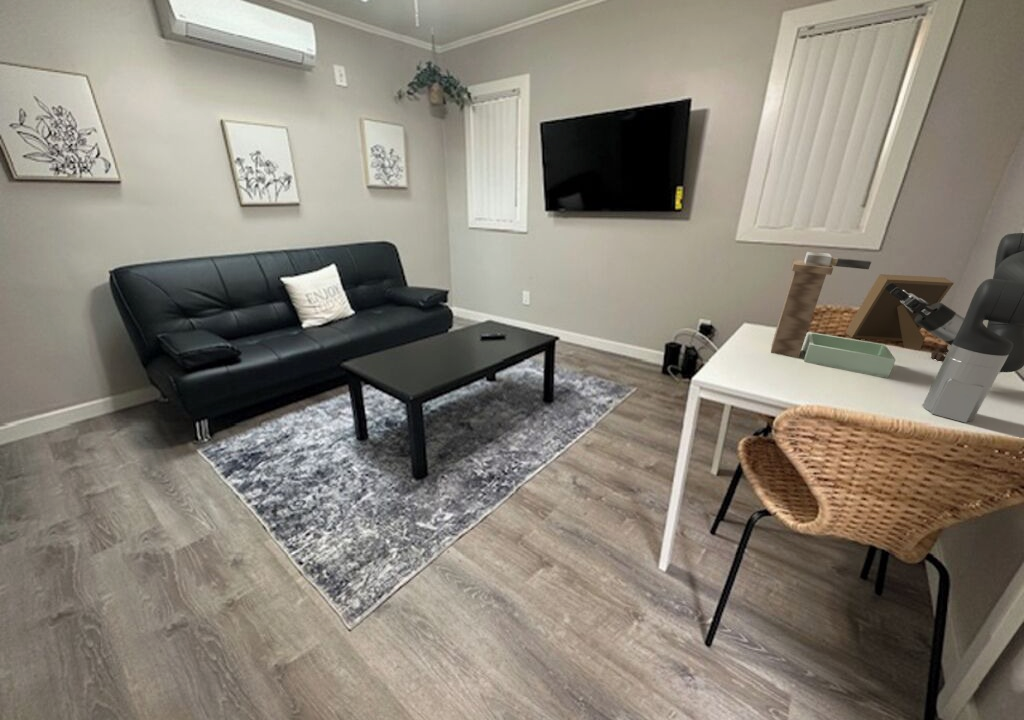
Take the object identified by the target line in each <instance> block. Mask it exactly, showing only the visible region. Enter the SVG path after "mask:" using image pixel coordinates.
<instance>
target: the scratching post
mask: <svg viewBox="0 0 1024 720" xmlns="http://www.w3.org/2000/svg"><path fill="white" fill-rule="evenodd" d="M804 260H805V259H804ZM804 260H803V259H795V258H794V259H792V262H791V272H792V273H793V274H792V276H791V280H790V283H789V286H788V290H787V292H786V297H785V299H784V303H783V306H782V308H781V313H780V316H779V320H778V322H777V326H776V329H775V332H774V335H773V338H772V339H773V340H772V343H771V348H770V353H772V354H775V355H781V356H786V357H792V358H797V359H799V358H800V354H801V352H802V350H803V346H804V343H805V340H806V337H807V334H808V332H809V328H810V325H811V321H812V319H813V316H814V313H815V309H816V308H817V303H818V301H819V297H820V295H821V292H822V288H823V285H824V282H825V279H826V276H828V275H829V276H831V275H832V273H833V270H834V266H829V267H824V266H814V265H805V262H804Z"/></svg>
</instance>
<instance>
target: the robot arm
mask: <svg viewBox="0 0 1024 720" xmlns="http://www.w3.org/2000/svg"><path fill="white" fill-rule="evenodd" d="M885 289H886V290H888V291H889V292H890V293H891V294H892V295H893V296H895V297H896V298H898V299H899V300H900V302H901V303H902V304H904V305H905V306H906V307H907V308H908V309H909V310H910V311H911V312H913V313H914V314H915V313H916V312H917V313H919V315H917V316H916V318H915V320H914V321H915V323H917V324H918V325H920V326H921V327H922V328H923V329H924V330H926V331H927V332H929V333H930V334H931V335H933V336H934V337H936V338H938V339H940V340H942V341H943V342H944V343H947V344H948V345H950V346H949V347H950V348H949V349H948V350H949V351H948V353H946V355H945V356H946V357H945V359H944V361H942V363H941V365H940V368H939V369H938V372H937V374H936V376H935V378H934V380H933V382H932V385H931V387H930V388H929V390H928V392H927V395H926V397H925V399H924V401H923V403H922V407H923V408H924V410H927V411H928V412H930V414H932V415H936V416H939V417H943V418H947V419H950V420H955V421H958V422H962V423H965V424H966V423H967V422H971V421H974V419H975V418H976V415H977V414H978V412H979V410H980V409H981V407H982V405H983V402H984V401H985V399H986V397H987V395H989V394H988V393H989V392H990V390H991V388H992V386H993V384H994V383H995V381H996V379H997V377H998V376H999V374H1000V373H1013V372H1017V371H1019V370H1021V369H1022V368H1023V367H1024V232H1017V233H1015V232H1014V233H1007V234H1005V235H1004V236H1002V238H1001V240H999V243H998V247H997V250H996V255H995V263H994V272H993V276H992V278H988V279H986V280H984V281H982V282H981V283H980V284H979V286H977V288H976V290H975V292H974V294H973V296H972V299H971V301H970V303H969V305H968V309H967V312H966V314H965V316H962V315H961V314H959V313H958V312H957V311H955V310H954V309H951V308H950V307H948V306H947V305H945V304H944V303H942V302H940V303H935V304H932V305H931V306H926V305H927V304H929V303H927V302H926V301H924V300H923V299H921V298H918V297H917V296H915V295H914V294H912V293H907V292H906V291H905V290H902V289H900V288H899V287H897V286H896V285H894V284H893V283H889V284H888V285H887V286H885ZM984 321H987V326H986V325H985V324H984Z"/></svg>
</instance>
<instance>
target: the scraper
mask: <svg viewBox="0 0 1024 720" xmlns="http://www.w3.org/2000/svg"><path fill="white" fill-rule="evenodd" d="M804 262H805V265H814V266H824V267H829V266H832V267H839V268H840V267H842V268H851V269H861V270H869V269H870V267H871V264H872V261H870V260H863V259H852V258H842V257H841V258H839V257H833V256H832V255H831V253H827V252H825V253H824V252H814V251H806V254H805V257H804Z"/></svg>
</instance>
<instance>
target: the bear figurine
mask: <svg viewBox="0 0 1024 720" xmlns="http://www.w3.org/2000/svg"><path fill="white" fill-rule="evenodd" d="M939 350H940V351H942V352H943V353H946V354H947V353H948V351H949V349H948V347H945V348H943V347H940V348H939ZM943 353H940V352H937V351H932V352H931V356H930V359H931V358H932V359H931V360H934V359H936V360H937V361H936V360H935V361H936V362H938V361H942V362H943V361H944V359H945V357H946V355H944V354H943Z"/></svg>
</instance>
